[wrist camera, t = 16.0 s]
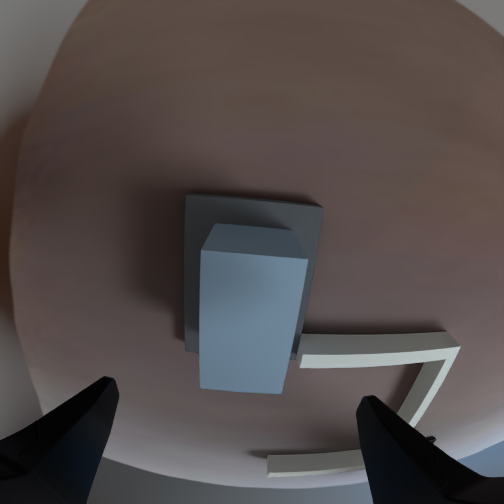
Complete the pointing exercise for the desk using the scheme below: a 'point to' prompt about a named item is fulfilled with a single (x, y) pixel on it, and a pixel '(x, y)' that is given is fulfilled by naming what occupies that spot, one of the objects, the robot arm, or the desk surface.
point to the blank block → (248, 307)
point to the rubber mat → (248, 214)
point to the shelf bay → (367, 355)
